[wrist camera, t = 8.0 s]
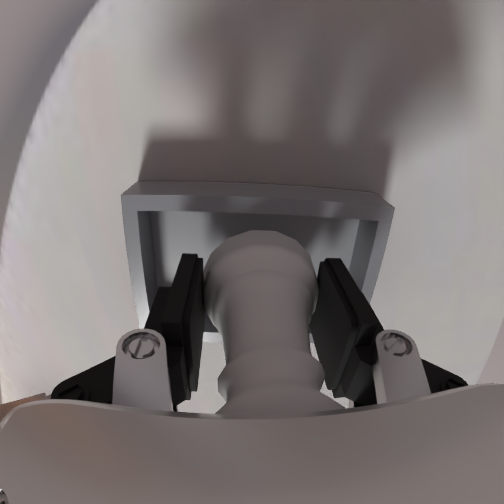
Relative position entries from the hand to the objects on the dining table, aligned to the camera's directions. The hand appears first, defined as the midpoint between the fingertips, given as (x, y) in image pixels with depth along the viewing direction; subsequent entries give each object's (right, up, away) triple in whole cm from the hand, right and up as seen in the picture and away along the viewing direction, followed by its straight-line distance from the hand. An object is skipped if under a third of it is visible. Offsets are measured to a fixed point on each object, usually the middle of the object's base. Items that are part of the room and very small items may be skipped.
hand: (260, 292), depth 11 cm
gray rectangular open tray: (0, +1, +2) cm, 3 cm away
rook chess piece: (0, +1, +1) cm, 1 cm away
